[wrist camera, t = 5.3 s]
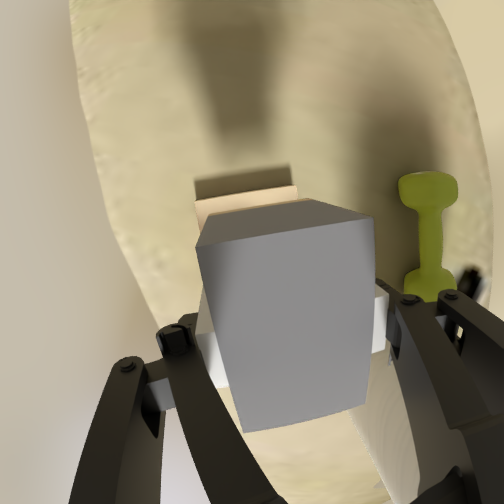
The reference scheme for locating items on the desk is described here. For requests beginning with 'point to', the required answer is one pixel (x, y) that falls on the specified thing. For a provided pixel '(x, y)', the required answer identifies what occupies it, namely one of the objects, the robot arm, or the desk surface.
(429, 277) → the dumbbell
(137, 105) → the desk surface
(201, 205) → the board
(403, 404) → the vase
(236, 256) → the block
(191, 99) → the desk surface
